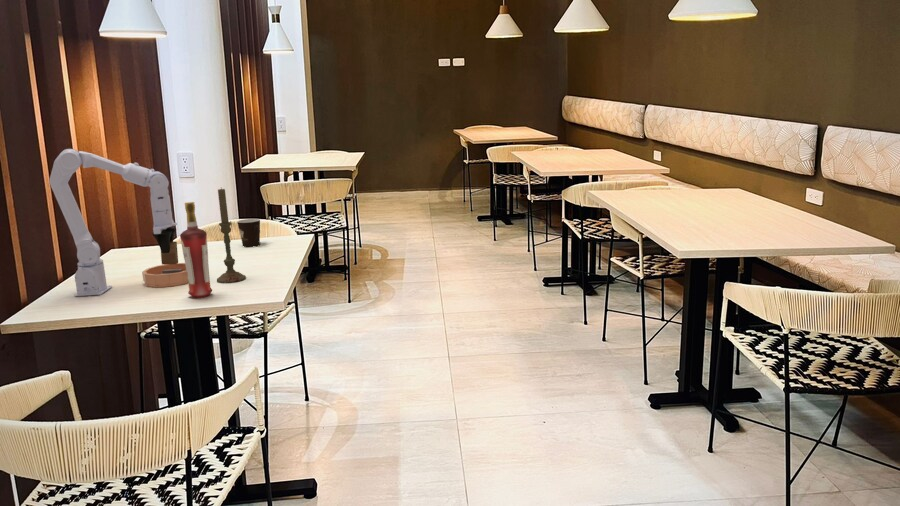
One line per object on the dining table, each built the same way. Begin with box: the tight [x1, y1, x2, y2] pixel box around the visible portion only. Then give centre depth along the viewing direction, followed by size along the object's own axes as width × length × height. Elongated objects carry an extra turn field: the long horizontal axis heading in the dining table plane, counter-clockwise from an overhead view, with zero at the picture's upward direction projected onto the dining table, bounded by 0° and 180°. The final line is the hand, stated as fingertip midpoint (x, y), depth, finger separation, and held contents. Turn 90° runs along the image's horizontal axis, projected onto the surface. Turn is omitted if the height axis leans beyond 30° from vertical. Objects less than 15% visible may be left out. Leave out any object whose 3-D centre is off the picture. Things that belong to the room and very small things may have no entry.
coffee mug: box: [237, 218, 261, 248], centre depth 285 cm, size 12×9×10 cm
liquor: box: [179, 201, 213, 299], centre depth 213 cm, size 7×7×28 cm
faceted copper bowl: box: [141, 262, 188, 288], centre depth 236 cm, size 16×16×4 cm
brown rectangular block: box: [160, 241, 179, 265], centre depth 234 cm, size 2×4×7 cm, turn 94°
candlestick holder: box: [216, 187, 247, 284], centre depth 231 cm, size 9×9×30 cm
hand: (167, 251), depth 234 cm, fingers closed on brown rectangular block, 2 cm apart
